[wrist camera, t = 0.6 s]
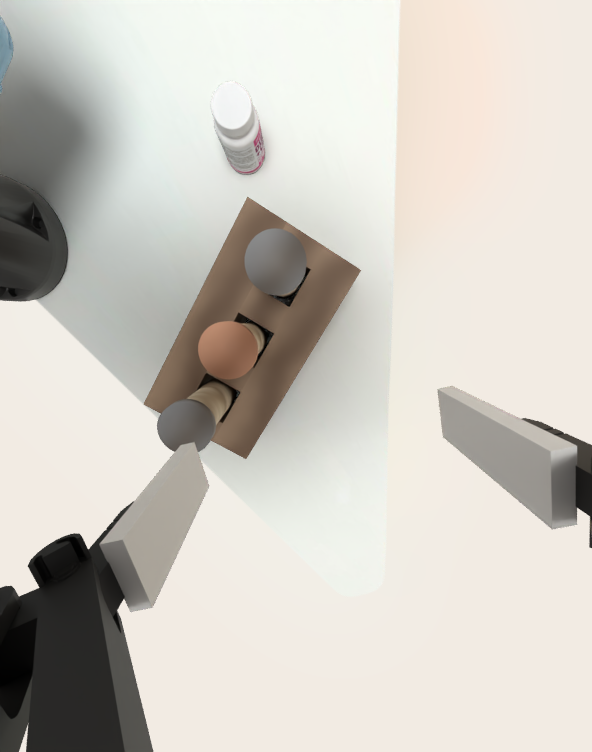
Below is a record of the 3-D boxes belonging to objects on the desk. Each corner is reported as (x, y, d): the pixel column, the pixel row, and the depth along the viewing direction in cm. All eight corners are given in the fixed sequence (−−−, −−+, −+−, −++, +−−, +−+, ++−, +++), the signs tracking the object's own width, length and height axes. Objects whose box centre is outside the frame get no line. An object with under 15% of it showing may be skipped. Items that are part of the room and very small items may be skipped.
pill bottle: (268, 171, 36) (260, 128, 28) (232, 179, 36) (212, 139, 28) (261, 128, 35) (249, 70, 27) (223, 136, 35) (200, 81, 27)
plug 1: (196, 397, 37) (148, 437, 25) (213, 366, 36) (171, 392, 24) (228, 415, 38) (196, 463, 26) (246, 385, 37) (221, 420, 25)
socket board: (172, 387, 42) (143, 404, 34) (257, 221, 37) (247, 196, 29) (255, 432, 43) (246, 459, 36) (348, 279, 39) (361, 270, 31)
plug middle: (224, 345, 36) (188, 360, 24) (243, 311, 35) (214, 309, 23) (258, 364, 36) (239, 389, 24) (277, 331, 35) (266, 340, 23)
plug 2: (255, 287, 34) (233, 273, 22) (275, 250, 33) (263, 215, 21) (290, 308, 35) (286, 306, 23) (310, 273, 34) (318, 250, 22)
